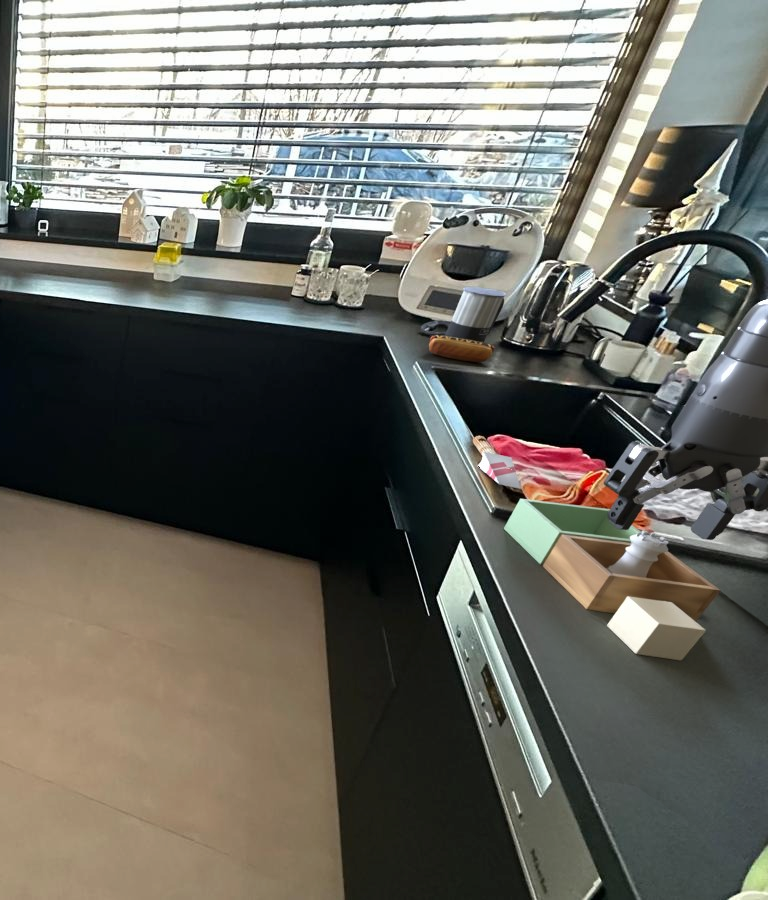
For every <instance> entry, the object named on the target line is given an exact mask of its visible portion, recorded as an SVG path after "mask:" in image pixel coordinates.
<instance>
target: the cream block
mask: <svg viewBox="0 0 768 900" xmlns="http://www.w3.org/2000/svg"><path fill="white" fill-rule="evenodd" d="M606 627H608V629H609V630H611V631H612V633H613V634H615V636H616V637H618V638H619V639H620V640H621V642H623V643H624V644H625V645H626V646H627V647H628V648H629V649H630V650H631V651H632V652H633V653H634V654H636V655H641V656H648V657H654V658H660V659H669V660H675V661H683V659H684V658H685V657H686V656H687V655H688V653H689V652H690V651H691V649H692V648H693V647H694V646H695V645H696V644H697V642H698V641H699V640H700V638H702V636H703V635H704V634H705V633H706V631H707V630H706V628H704V627H702V626H701V625H700V624H699V623H698V622H695V621H694V620H693V619H691V618H690V617H689V616H688V615H687V614H685V613H684V612H683V611H682V610H681V609H679V608H678V607H677V606H676V605H674V604H673V603H672V602H666V601H658V600H651V599H643V598H636V597H629V596H628V597H627V598H626V599H625V601H624V602H623V603H622V605H621V606H620V608H619V609H618V610H617V612H616V613H614V614H613V616H612V617H611V618H610V620H609V622H608V623H607V624H606Z"/></svg>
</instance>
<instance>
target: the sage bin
mask: <svg viewBox="0 0 768 900" xmlns="http://www.w3.org/2000/svg"><path fill="white" fill-rule="evenodd" d="M610 509H611V508H602V507H596V506H595V507H594V506H586V505H579V504H578V505H577V504H569V503H561V502H552V501H544V500H536V499H528V498H519V500H518V502H517V503H516V506H515V507H514V509H513V511H512V513H511V515H510V516H509V518H508V520H507V522H506V524H505V525H504V527H503V529H504V530H505V532H506V533H508V535H510V536H511V538H513V540H515V541H516V543H518V544H519V545H520V546H521V547H522V548H523V549H524V550H525V551H526V552H527V554H529V555H530V556H531V557H532V558H533V559H534V560H535V561H536V562H537V563H538V564H539V565H542V566H543V565H544V563H545V561H546V560H547V558H548V556H549V555H550V553H551V551H552V550H553V548H554V547H555V545H556V543H557V542H558V540H559V538H560V537H561V535H570V536H578V537H586V538H594V539H602V540H609V541H617V542H625V543H631V540H630V536H633V535H636V534H638V532H639V531H640V529H638V528H637V527H635V526H634V525H633V524H632V525H631V527H630V528H629V529H628V530H620V529H617V528H616V527H614V526H613V525H612V524H611V523H609V521H608V518H607V513H608V512H609V510H610Z"/></svg>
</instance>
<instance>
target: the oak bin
mask: <svg viewBox="0 0 768 900" xmlns="http://www.w3.org/2000/svg"><path fill="white" fill-rule="evenodd" d="M631 545H632V543H625V542H617V541H609V540H602V539H594V538H586V537H578V536H570V535H561V537H560V538H559V540H558V542H557V543H556V545H555V547H554V548H553V550H552V551H551V553H550V555H549V556H548V558H547V560H546V561H545V563H544V565H542V568H544V570H545V571H546V572H548V573H549V575H550V576H552V577H553V578H554V580H555V581H557V582H558V584H560V585H561V586H562V587H563V588H564V589H565V590H566V591H567V592H568V593H569V594H570V595H571V596H572V597H573V598H574V599H575V600H576V601H577V602H578V603H579V604H581V606H582V607H584V609H585V610H587V611H595V612H596V611H597V612H602V613H609V614H610V613H611V614H615V613H616V612H617V610H618V609H619V608H620V606H621V605H622V603H623V602H624V601H625V599H626V598H627V597H628V596H629V597H636V598H643V599H651V600H658V601H666V602H672V603H673V604H674V605H676V606H677V607H678V608H679V609H681V610H682V611H683V612H684V613H685V614H687V615H688V616H689V617H690V618H691V619H693V620H694V621H695V622H696V621H698V620H699V618H700V617H701V616H702V614H703V613H704V612H705V611H706V610H707V608H708V607H709V606H710V604H711V603H712V602H713V601H714V600H715V598H716V597H717V596H718V594H719V593H720V592H721V589H719V588H718V587H717V586H715V585H714V584H713V583H711V582H710V581H709V580H707V579H706V578H704V577H703V576H702V575H700V574H699V573H698V572H696V570H694V569H692V568H691V567H690V566H688V565H687V564H686V563H684V562H683V561H681V560H680V559H679V558H677V557H676V556H675V555H674V554H672V553H671V552H669V551H668V552H664V553H661V554H659V555H658V556H657V558H658V561H655V562H653V563H652V565H651V566H650V568H649V570H648V573H647V575H646V578H643V577H635V576H628V575H620V574H613V573H610V572H609V571H608V570H607V569H606V568H609V566H611V565H614V564H615V563H616V562H617V561H618V560H619V559H620V558H621V557H622V556H623V555H624V554H625V553H626V547H629V546H631ZM696 623H697V622H696Z"/></svg>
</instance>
